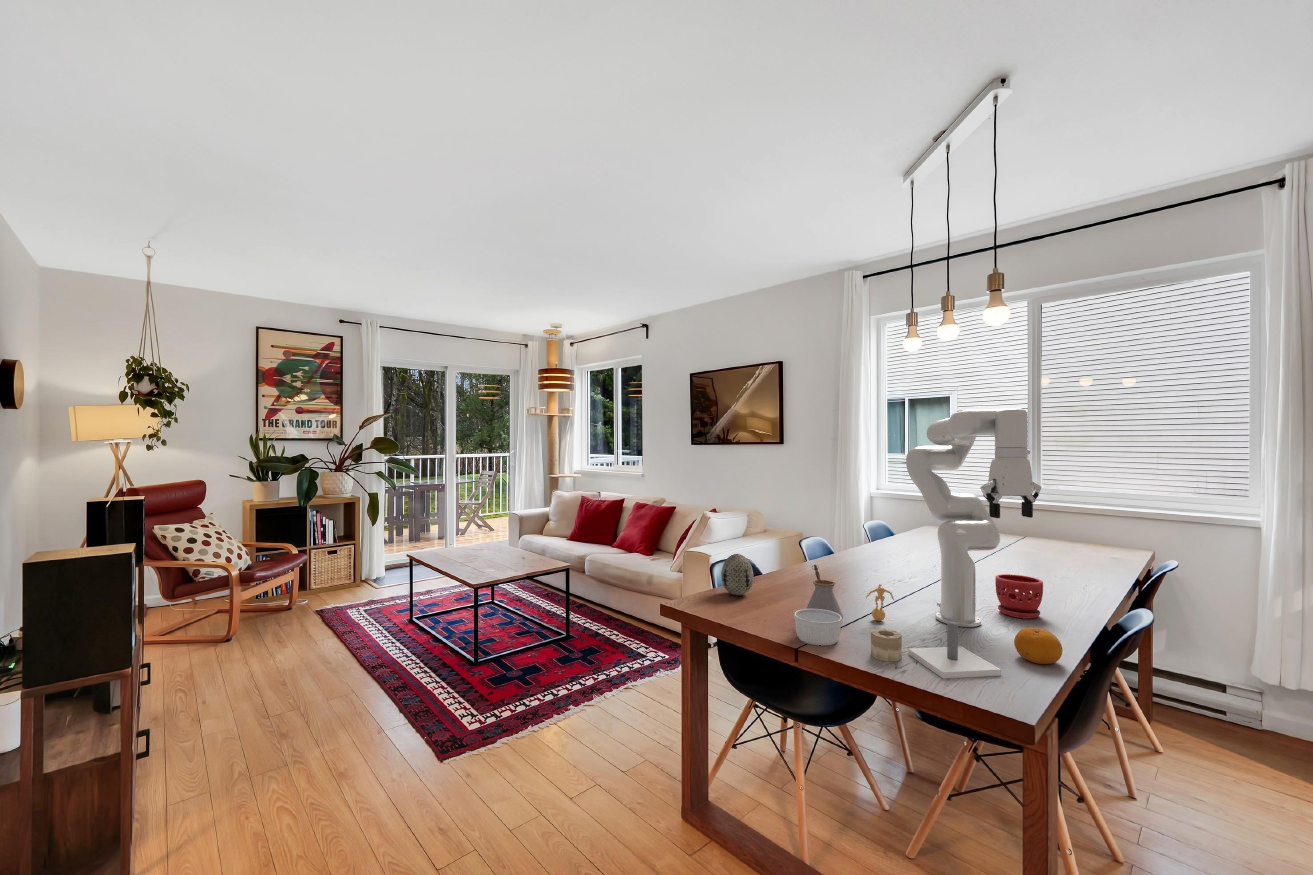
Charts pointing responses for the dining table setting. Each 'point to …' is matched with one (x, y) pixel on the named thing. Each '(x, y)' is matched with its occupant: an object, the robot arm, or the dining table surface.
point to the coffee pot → (824, 595)
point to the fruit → (1038, 645)
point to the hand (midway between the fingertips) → (1011, 517)
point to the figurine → (878, 612)
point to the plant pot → (1019, 595)
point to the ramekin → (818, 626)
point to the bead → (886, 645)
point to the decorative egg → (737, 574)
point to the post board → (953, 659)
